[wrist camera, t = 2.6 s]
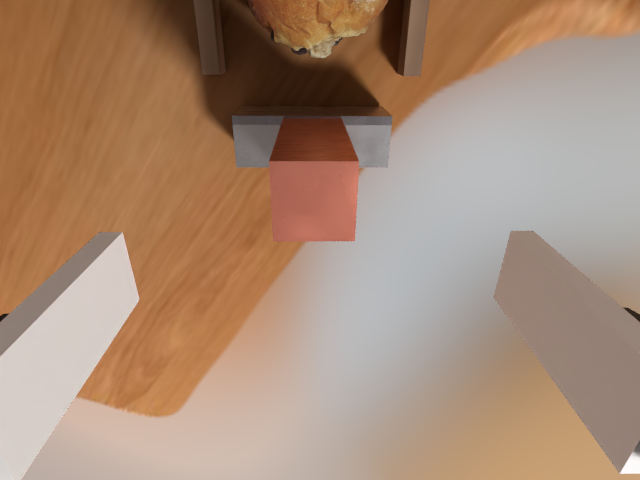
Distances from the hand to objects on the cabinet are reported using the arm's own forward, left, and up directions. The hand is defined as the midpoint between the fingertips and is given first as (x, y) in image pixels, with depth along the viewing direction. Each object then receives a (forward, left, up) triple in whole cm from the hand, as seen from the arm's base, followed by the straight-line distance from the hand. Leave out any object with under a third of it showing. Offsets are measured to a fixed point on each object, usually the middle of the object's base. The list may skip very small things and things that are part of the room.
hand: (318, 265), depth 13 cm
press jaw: (0, 0, -21) cm, 21 cm away
